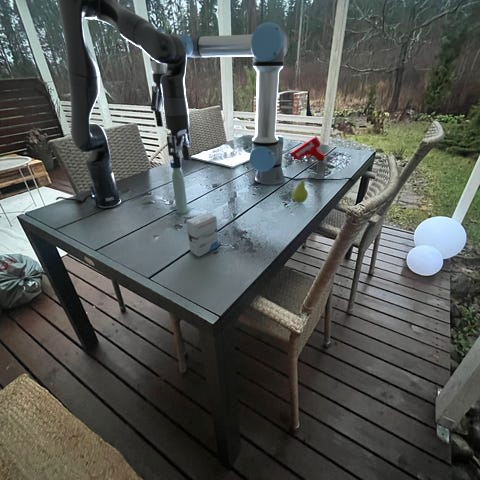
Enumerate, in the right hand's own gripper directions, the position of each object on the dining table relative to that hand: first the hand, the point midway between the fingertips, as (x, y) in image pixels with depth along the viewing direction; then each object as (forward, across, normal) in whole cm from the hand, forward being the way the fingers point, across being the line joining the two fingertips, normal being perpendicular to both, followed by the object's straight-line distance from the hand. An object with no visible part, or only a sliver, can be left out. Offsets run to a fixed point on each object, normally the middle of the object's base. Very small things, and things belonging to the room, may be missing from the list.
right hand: (167, 124), depth 132 cm
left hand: (+5, +41, +30) cm, 51 cm away
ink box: (+28, +57, +43) cm, 77 cm away
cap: (+7, +33, +22) cm, 41 cm away
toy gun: (+28, -54, +64) cm, 89 cm away
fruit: (+28, +10, +68) cm, 74 cm away
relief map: (+28, -45, +11) cm, 54 cm away
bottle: (+28, +33, +22) cm, 49 cm away
